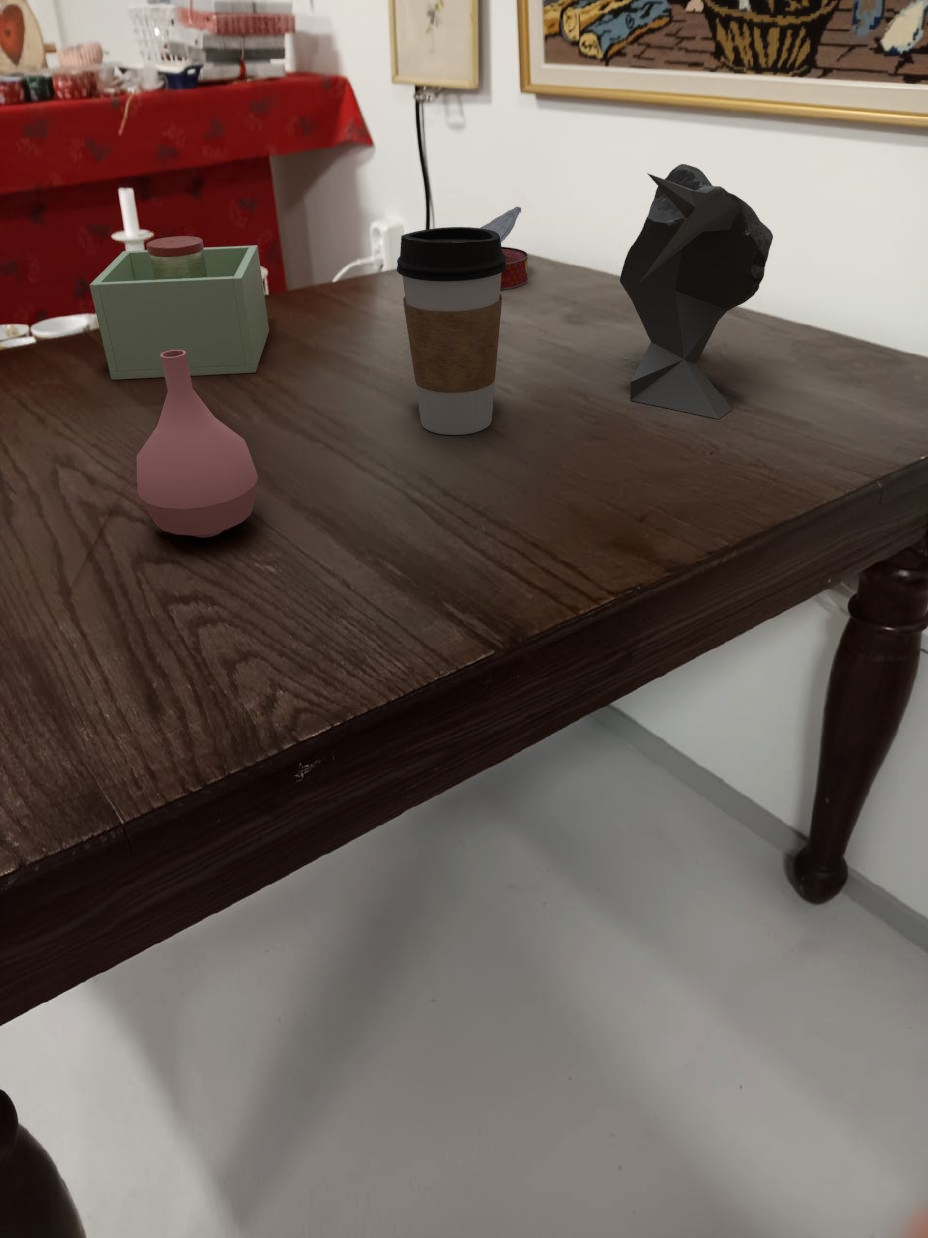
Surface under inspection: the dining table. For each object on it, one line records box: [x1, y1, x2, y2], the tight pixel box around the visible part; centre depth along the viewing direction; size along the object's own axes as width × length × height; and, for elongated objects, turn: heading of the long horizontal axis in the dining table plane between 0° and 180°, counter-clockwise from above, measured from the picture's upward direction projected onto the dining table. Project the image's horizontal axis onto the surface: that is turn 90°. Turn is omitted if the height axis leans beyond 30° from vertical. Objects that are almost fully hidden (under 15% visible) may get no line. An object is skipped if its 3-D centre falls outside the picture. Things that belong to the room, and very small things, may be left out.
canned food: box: [480, 206, 529, 291], centre depth 117 cm, size 11×10×10 cm
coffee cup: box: [396, 226, 507, 436], centre depth 76 cm, size 8×8×15 cm
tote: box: [89, 244, 270, 381], centre depth 94 cm, size 14×14×9 cm
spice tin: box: [145, 235, 207, 280], centre depth 94 cm, size 5×5×10 cm
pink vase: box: [135, 350, 259, 538], centre depth 61 cm, size 8×8×12 cm
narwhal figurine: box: [619, 163, 774, 420], centre depth 82 cm, size 14×15×18 cm
